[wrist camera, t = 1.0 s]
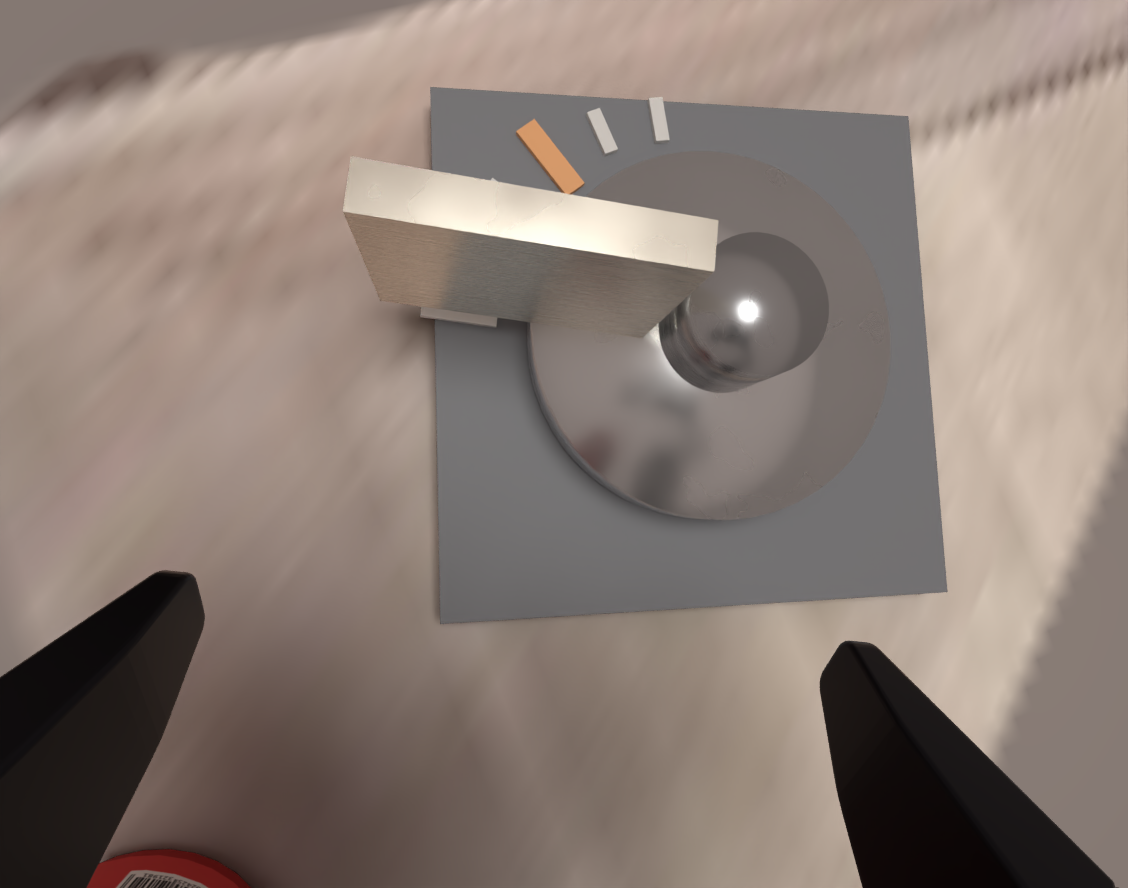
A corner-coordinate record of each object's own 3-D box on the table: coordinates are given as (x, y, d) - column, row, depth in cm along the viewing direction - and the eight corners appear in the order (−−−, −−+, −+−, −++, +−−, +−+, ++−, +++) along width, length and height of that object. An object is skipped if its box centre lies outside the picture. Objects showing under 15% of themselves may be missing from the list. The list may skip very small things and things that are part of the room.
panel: (924, 587, 25) (951, 592, 23) (427, 618, 22) (425, 625, 20) (888, 133, 26) (911, 112, 25) (419, 106, 23) (416, 81, 22)
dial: (867, 208, 24) (1056, 70, 16) (848, 535, 23) (1044, 552, 15) (413, 126, 22) (385, -81, 14) (365, 484, 20) (304, 473, 13)
